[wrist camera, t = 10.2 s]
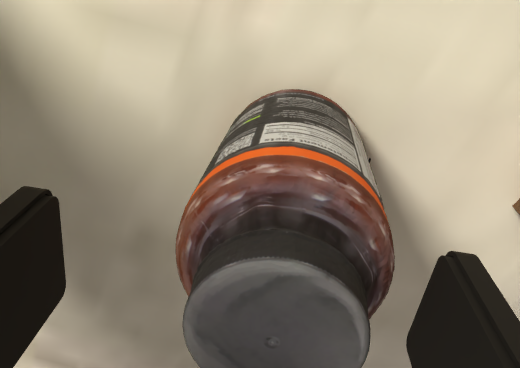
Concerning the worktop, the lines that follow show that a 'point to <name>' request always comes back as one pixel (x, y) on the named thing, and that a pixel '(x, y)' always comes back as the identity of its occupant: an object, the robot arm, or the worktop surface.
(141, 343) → the worktop surface
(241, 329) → the supplement bottle
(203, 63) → the worktop surface
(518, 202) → the letter t block
